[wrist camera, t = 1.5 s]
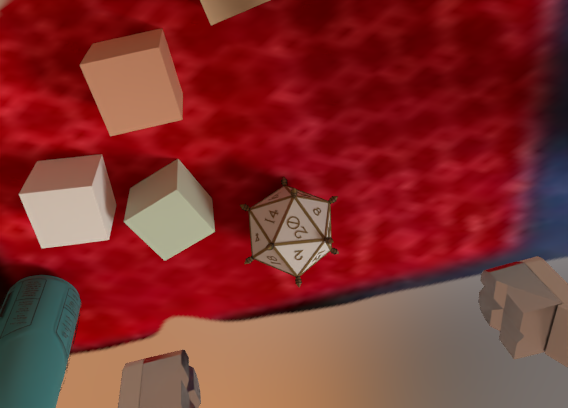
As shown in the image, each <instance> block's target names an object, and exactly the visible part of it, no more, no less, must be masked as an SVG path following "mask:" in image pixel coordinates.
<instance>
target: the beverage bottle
mask: <svg viewBox="0 0 568 408" xmlns="http://www.w3.org/2000/svg"><path fill="white" fill-rule="evenodd" d="M11 287H12V286H11ZM11 287H10V288H11ZM10 288H9V289H10ZM7 291H8V290H7ZM5 295H6V294H5ZM3 299H4V298H3ZM81 304H82V303H81V300H80V297H79V294H78V292H77V290H76V289H75V288H74V287H73V286H72V285H71V284H70V283H68V282H67V281H65V280H63V279H61V278H58V277H55V276H49V275H35V276H29V277H26V278H23V279H21V280H20V281H18V282H17V283H16V284H14V285H13V287H12V288H11V289H10V290H9V291H8V292H7V296H6V298H5V300H4V303H3V305H2V304H0V305H1V306H2V307H1V308H0V309H1V310H0V408H56V404H57V400H58V396H59V392H60V388H61V384H62V381H63V378H64V374H65V370H66V365H67V362H68V358H69V353H70V348H71V344H72V340H73V336H74V331H75V329H76V325H77V324H76V323H77V318H78V314H79V310H80V305H81ZM79 316H80V315H79ZM78 322H79V321H78ZM77 327H78V325H77ZM76 331H77V329H76ZM75 336H76V333H75ZM74 340H75V337H74ZM73 344H74V342H73ZM72 349H73V346H72ZM71 353H72V352H71Z"/></svg>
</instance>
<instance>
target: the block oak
mask: <svg viewBox="0 0 568 408" xmlns="http://www.w3.org/2000/svg"><path fill="white" fill-rule="evenodd" d="M200 1H201V4H202V6H203V8H204V11H205V13H206V15H207V17H208V20H209V22H210V24H211V25H213V24H216V23H218V22H220V21H223V20H225V19H227V18H230V17H232V16H235V15H237V14H239V13H242V12H244V11H246V10H249V9H251V8H253V7H256V6H258V5H260V4H263V3H265V2H267V1H270V0H200Z"/></svg>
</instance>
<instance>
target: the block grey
mask: <svg viewBox="0 0 568 408" xmlns="http://www.w3.org/2000/svg"><path fill="white" fill-rule="evenodd" d="M19 196H20V199H21V201H22V203H23V206H24V208H25V210H26V213H27V215H28V217H29V220H30V222H31V224H32V227H33V229H34V231H35V234H36V236H37V238H38V241H39V243H40V245H41V248H49V247H57V246H65V245H73V244H81V243H88V242H96V241H104V240H109V237H110V232H111V228H112V224H113V219H114V215H115V210H116V206H117V204H116V201H115V197H114V194H113V191H112V187H111V184H110V180H109V177H108V173H107V170H106V166H105V163H104V159H103V156H102V154H100V155H90V156H81V157H71V158H62V159H52V160H43V161H37V162H36V164H35V166H34V167H33V169H32V171H31V173H30V175H29V176H28V178H27V180H26V182H25V184H24V185H23V187H22V189H21V191H20V193H19Z"/></svg>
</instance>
